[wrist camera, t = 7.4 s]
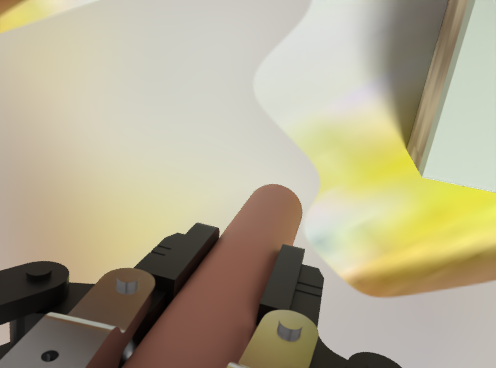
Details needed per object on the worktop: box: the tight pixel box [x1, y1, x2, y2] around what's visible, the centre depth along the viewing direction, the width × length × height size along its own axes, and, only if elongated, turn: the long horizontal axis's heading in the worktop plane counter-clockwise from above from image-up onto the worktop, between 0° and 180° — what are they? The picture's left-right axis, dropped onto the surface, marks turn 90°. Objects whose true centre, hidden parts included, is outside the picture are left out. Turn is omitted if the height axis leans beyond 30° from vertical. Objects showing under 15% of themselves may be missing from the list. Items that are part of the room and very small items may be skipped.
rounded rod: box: [122, 184, 302, 368], centre depth 13 cm, size 2×2×12 cm
